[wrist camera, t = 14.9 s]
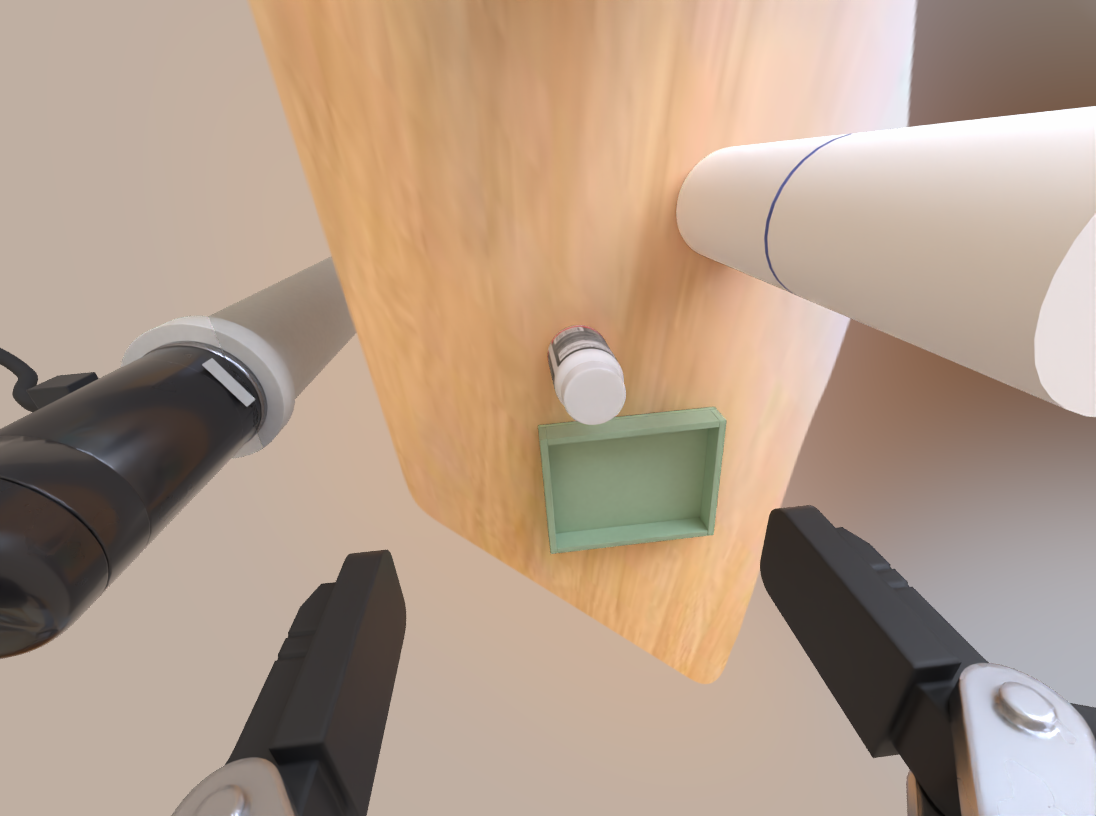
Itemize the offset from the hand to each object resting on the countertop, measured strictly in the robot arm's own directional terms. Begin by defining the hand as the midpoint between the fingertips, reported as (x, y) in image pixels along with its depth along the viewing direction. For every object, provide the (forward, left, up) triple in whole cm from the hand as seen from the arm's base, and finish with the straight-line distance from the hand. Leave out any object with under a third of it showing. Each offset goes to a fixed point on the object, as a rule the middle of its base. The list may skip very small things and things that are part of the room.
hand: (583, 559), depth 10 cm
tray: (+7, -18, -27) cm, 33 cm away
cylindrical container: (+14, +4, -27) cm, 31 cm away
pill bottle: (+3, -6, -27) cm, 28 cm away
